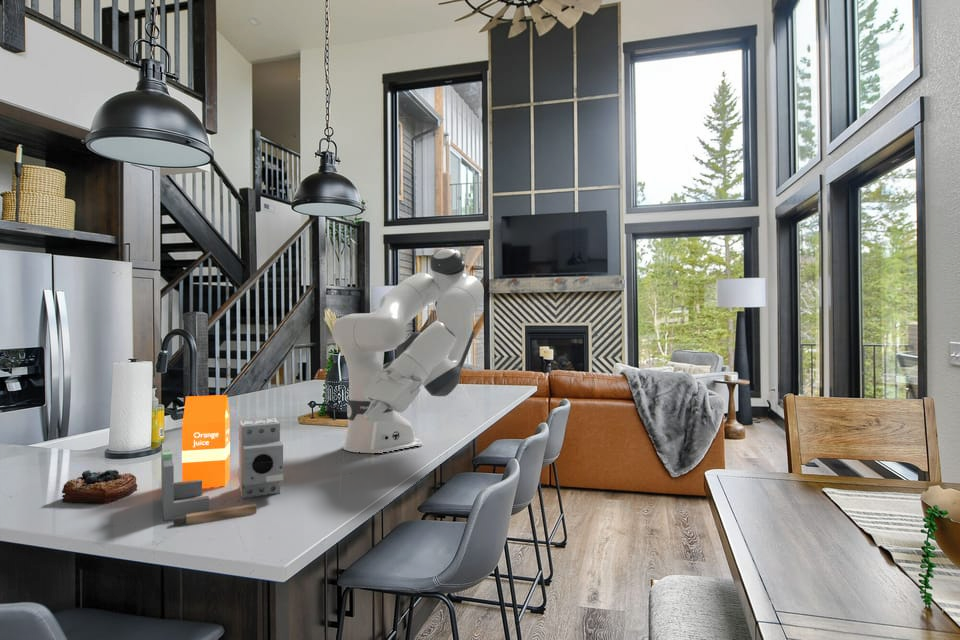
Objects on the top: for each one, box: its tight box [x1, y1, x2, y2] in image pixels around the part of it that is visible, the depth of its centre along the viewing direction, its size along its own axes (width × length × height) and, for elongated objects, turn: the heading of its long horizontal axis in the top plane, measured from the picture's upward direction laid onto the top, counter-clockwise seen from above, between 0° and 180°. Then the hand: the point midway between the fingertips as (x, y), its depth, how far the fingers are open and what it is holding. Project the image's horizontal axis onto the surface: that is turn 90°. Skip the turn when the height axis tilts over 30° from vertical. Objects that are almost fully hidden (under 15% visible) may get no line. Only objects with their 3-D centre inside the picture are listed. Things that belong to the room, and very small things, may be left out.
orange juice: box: [181, 394, 231, 489], centre depth 129 cm, size 8×9×20 cm
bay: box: [160, 449, 210, 522], centre depth 114 cm, size 8×15×11 cm, turn 31°
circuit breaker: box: [238, 417, 284, 499], centre depth 121 cm, size 8×14×15 cm, turn 27°
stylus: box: [173, 503, 257, 527], centre depth 107 cm, size 14×2×2 cm, turn 120°
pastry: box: [61, 469, 138, 505], centre depth 120 cm, size 11×12×6 cm
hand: (367, 418), depth 133 cm, fingers closed
